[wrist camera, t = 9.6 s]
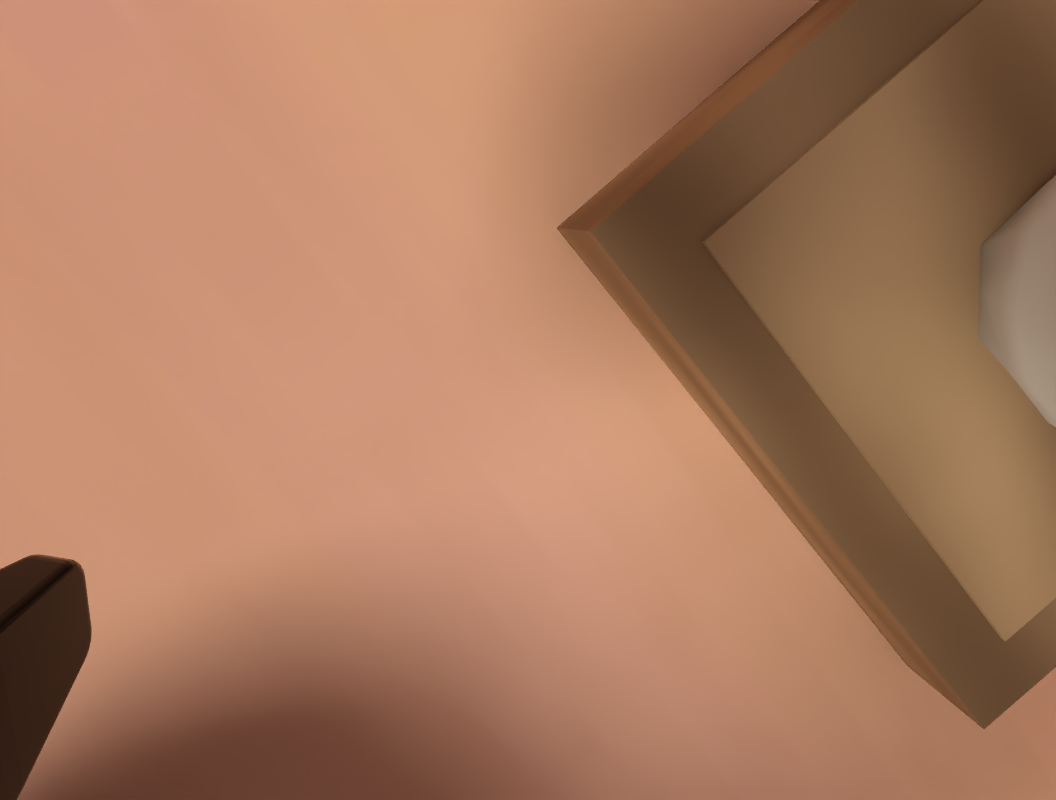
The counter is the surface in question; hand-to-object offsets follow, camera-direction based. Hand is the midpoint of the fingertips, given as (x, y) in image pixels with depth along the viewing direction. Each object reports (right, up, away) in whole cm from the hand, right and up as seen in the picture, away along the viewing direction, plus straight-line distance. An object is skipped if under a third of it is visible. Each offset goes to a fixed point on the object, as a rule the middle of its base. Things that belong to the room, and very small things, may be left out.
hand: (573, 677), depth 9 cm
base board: (+10, +6, +14) cm, 18 cm away
